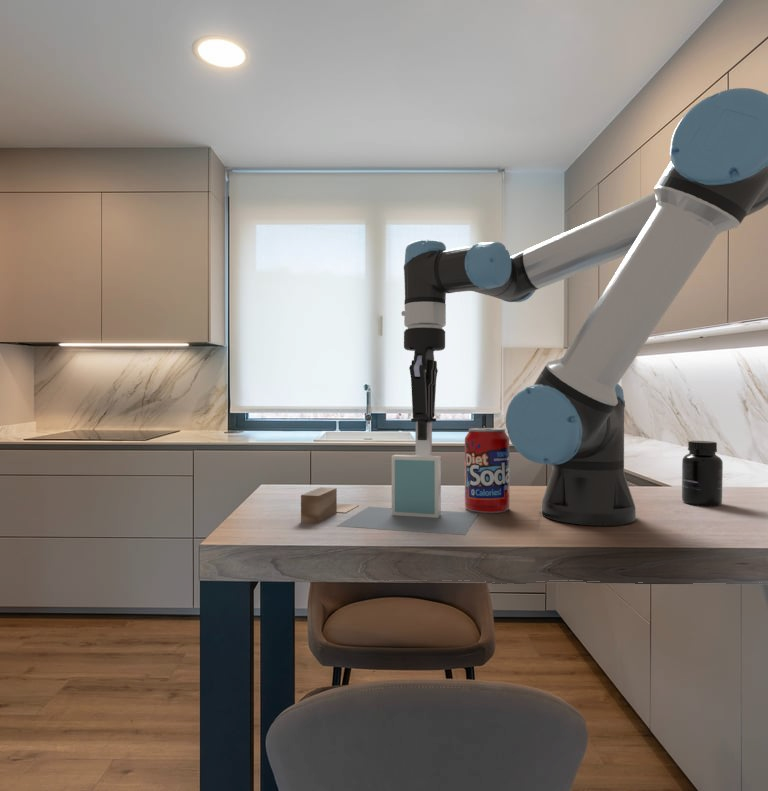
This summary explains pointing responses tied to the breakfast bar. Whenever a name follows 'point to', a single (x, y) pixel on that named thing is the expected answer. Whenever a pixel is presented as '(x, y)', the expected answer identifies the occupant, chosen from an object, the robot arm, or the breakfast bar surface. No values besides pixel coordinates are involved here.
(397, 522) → the mat
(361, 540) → the breakfast bar surface
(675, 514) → the breakfast bar surface
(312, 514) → the block with thin plate
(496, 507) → the soda can
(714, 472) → the supplement bottle
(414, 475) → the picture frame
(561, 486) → the robot arm
